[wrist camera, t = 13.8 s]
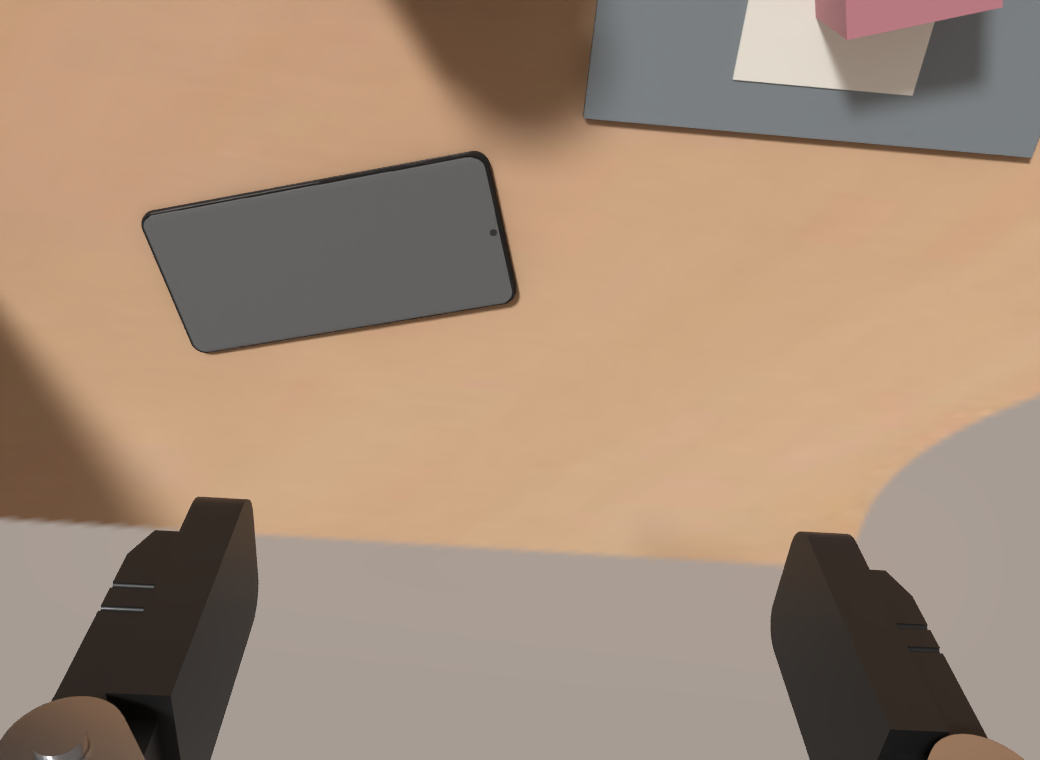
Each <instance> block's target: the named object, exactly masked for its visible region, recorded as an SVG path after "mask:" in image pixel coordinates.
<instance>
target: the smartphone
mask: <svg viewBox="0 0 1040 760" xmlns="http://www.w3.org/2000/svg"><path fill="white" fill-rule="evenodd" d="M142 229H143V232H144V234H145V237H146V239H147V241H148V244H149V246H150V248H151V251H152V253H153V255H154V258H155V260H156V262H157V265H158V267H159V269H160V272H161V274H162V276H163V279H164V281H165V283H166V286H167V288H168V290H169V293H170V295H171V297H172V300H173V302H174V304H175V307H176V309H177V311H178V314H179V316H180V318H181V321H182V323H183V325H184V328H185V330H186V332H187V335H188V337H189V339H190V342H191V344H192V346H193V347H194V348H195V349H196V350H198V351H200V352H204V353H208V352H214V351H220V350H226V349H233V348H239V347H245V346H251V345H257V344H263V343H269V342H275V341H281V340H287V339H294V338H300V337H306V336H312V335H318V334H324V333H330V332H336V331H342V330H348V329H354V328H361V327H367V326H373V325H380V324H386V323H391V322H397V321H403V320H409V319H416V318H423V317H429V316H435V315H441V314H447V313H452V312H458V311H464V310H470V309H476V308H482V307H488V306H495V305H501V304H506V303H508V302H510V301H511V300H512V299H513V298H514V296H515V293H516V283H515V279H514V274H513V270H512V265H511V260H510V256H509V251H508V246H507V242H506V237H505V232H504V228H503V223H502V219H501V214H500V210H499V205H498V200H497V196H496V191H495V186H494V182H493V177H492V173H491V168H490V164H489V161H488V159H487V157H486V156H485V155H484V154H482V153H481V152H478V151H470V152H465V153H459V154H454V155H448V156H443V157H438V158H432V159H427V160H421V161H416V162H410V163H405V164H400V165H394V166H389V167H383V168H378V169H373V170H367V171H362V172H356V173H351V174H345V175H340V176H335V177H329V178H324V179H319V180H313V181H308V182H303V183H297V184H292V185H287V186H281V187H276V188H270V189H265V190H260V191H254V192H249V193H244V194H238V195H233V196H227V197H222V198H217V199H211V200H206V201H200V202H195V203H189V204H184V205H179V206H173V207H168V208H163V209H158V210H152V211H149V212H148V213H146V214H145V216H144V217H143V219H142Z"/></svg>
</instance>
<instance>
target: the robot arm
mask: <svg viewBox="0 0 1040 760" xmlns="http://www.w3.org/2000/svg"><path fill="white" fill-rule="evenodd" d="M257 598H258V569H257V557H256V544H255V531H254V518H253V508H252V504H251V501H250V500H248V499H230V498H212V497H197V498H195V500H194V501H193V503H192V505H191V507H190V509H189V511H188V513H187V516H186V518H185V520H184V522H183V524H182V527H181V529H180V531H179V532H178V531H159V530H155V531H154V532H152V533H151V534H150V535H149V536H148V537H147V538H145V539H144V540H143V541H142V542H141V543H140V544H139V545H137V546H136V547H135V548H134V549H133V550H132V551H130V552H129V553H128V554H127V556H126V558H125V560H124V562H123V564H122V566H121V568H120V569H119V572H118V573H117V575H116V577H115V579H114V581H113V587H112V588H110V589H109V591H108V593H107V595H106V597H105V599H104V601H103V603H102V605H101V611H98V612H97V614H96V617H95V618H94V620H93V622H92V624H91V626H90V628H89V630H88V632H87V634H86V636H85V638H84V640H83V642H82V644H81V646H80V648H79V649H78V651H77V653H76V655H75V657H74V659H73V661H72V663H71V665H70V667H69V669H68V671H67V673H66V675H65V677H64V679H63V681H62V683H61V684H60V686H59V688H58V690H57V692H56V694H55V696H54V697H53V699H52V701H51V702H49V703H46V704H43V705H41V706H39V707H37V708H35V709H34V710H32V711H30V712H29V713H27V714H25V715H24V716H23V717H21V718H20V719H19V720H18V721H16V722H15V723H14V724H13V725H12V726H11V727H10V728H9V729H8V730H7V732H6V733H5V734H4V736H3V737H2V739H1V740H0V760H210V759H211V755H212V753H213V750H214V746H215V743H216V740H217V736H218V733H219V730H220V727H221V724H222V721H223V718H224V714H225V711H226V708H227V705H228V702H229V698H230V695H231V692H232V689H233V685H234V682H235V679H236V676H237V673H238V670H239V666H240V663H241V660H242V657H243V653H244V650H245V647H246V644H247V641H248V637H249V634H250V631H251V628H252V625H253V621H254V617H255V612H256V606H257ZM771 639H772V644H773V649H774V652H775V655H776V658H777V661H778V664H779V667H780V670H781V673H782V676H783V680H784V682H785V685H786V689H787V692H788V695H789V697H790V701H791V704H792V707H793V710H794V713H795V716H796V719H797V722H798V725H799V728H800V731H801V734H802V737H803V740H804V743H805V746H806V749H807V752H808V755H809V759H810V760H1024V759H1023V758H1022V757H1020V756H1019V755H1018V754H1016V753H1015V752H1014V751H1012V750H1010V749H1009V748H1007V747H1005V746H1004V745H1002V744H1000V743H997V742H995V741H993V740H990V739H988V738H987V736H986V734H985V732H984V730H983V728H982V727H981V725H980V723H979V721H978V719H977V717H976V715H975V713H974V712H973V710H972V708H971V706H970V704H969V702H968V700H967V698H966V696H965V695H964V693H963V691H962V689H961V687H960V685H959V683H958V681H957V679H956V678H955V676H954V674H953V672H952V670H951V668H950V666H949V664H948V663H947V661H946V659H945V657H944V655H943V654H940V652H939V648H940V647H939V646H938V644H937V642H936V640H935V638H934V636H933V635H932V633H931V631H930V630H927V623H926V621H925V619H924V617H923V616H922V614H921V612H920V610H919V608H918V606H917V604H916V602H915V600H914V599H913V597H912V596H911V595H910V594H909V593H908V592H907V591H906V590H905V589H904V588H903V587H902V586H901V585H900V584H899V583H898V582H897V581H896V580H895V579H894V578H893V577H891V576H890V575H889V574H888V573H887V572H886V571H881V570H870V569H869V567H868V566H867V564H866V561H865V559H864V557H863V556H862V553H861V551H860V549H859V547H858V545H857V543H856V541H855V540H854V538H853V537H852V536H851V535H849V534H837V533H819V532H798V533H797V534H796V535H795V536H794V538H793V540H792V543H791V546H790V549H789V553H788V556H787V560H786V563H785V566H784V570H783V574H782V576H781V580H780V583H779V586H778V590H777V593H776V597H775V600H774V603H773V607H772V613H771Z"/></svg>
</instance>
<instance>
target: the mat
mask: <svg viewBox="0 0 1040 760" xmlns="http://www.w3.org/2000/svg"><path fill="white" fill-rule="evenodd" d="M583 117H584V118H585V119H597V120H608V121H619V122H631V123H642V124H653V125H665V126H676V127H687V128H699V129H710V130H721V131H733V132H744V133H755V134H767V135H778V136H789V137H801V138H812V139H823V140H835V141H846V142H857V143H869V144H880V145H891V146H903V147H914V148H925V149H937V150H948V151H959V152H971V153H982V154H994V155H1005V156H1016V157H1028V158H1032V155H1033V153H1034V150H1035V147H1036V145H1037V142H1038V139H1039V137H1040V0H1003V7H1002V8H997V9H992V10H988V11H983V12H978V13H973V14H969V15H964V16H959V17H954V18H950V19H945V20H940V21H935V22H930V23H926V24H921V25H916V26H911V27H907V28H902V29H897V30H892V31H888V32H883V33H878V34H873V35H869V36H864V37H859V38H854V39H850V40H846V39H845V38H843V37H842V36H841V35H839V34H838V33H837V32H835V31H834V30H832V29H831V28H830V27H828V26H827V25H826V24H824V23H823V22H821V21H820V20H819V19H817V18H816V13H815V0H597V5H596V14H595V22H594V30H593V38H592V47H591V55H590V63H589V72H588V80H587V88H586V97H585V105H584V113H583Z"/></svg>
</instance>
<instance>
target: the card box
mask: <svg viewBox="0 0 1040 760" xmlns="http://www.w3.org/2000/svg"><path fill="white" fill-rule="evenodd" d="M1002 7H1003V0H815V13H816V18H817V19H819V20H820V21H821V22H823V23H824V24H826V25H827V26H828V27H830V28H831V29H832V30H834V31H835V32H837V33H838V34H839V35H841V36H842V37H843V38H845V39H846V40H850V39H854V38H859V37H864V36H869V35H873V34H878V33H883V32H888V31H892V30H897V29H902V28H907V27H911V26H916V25H921V24H926V23H930V22H935V21H940V20H945V19H950V18H954V17H959V16H964V15H969V14H973V13H978V12H983V11H988V10H992V9H997V8H1002Z"/></svg>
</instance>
